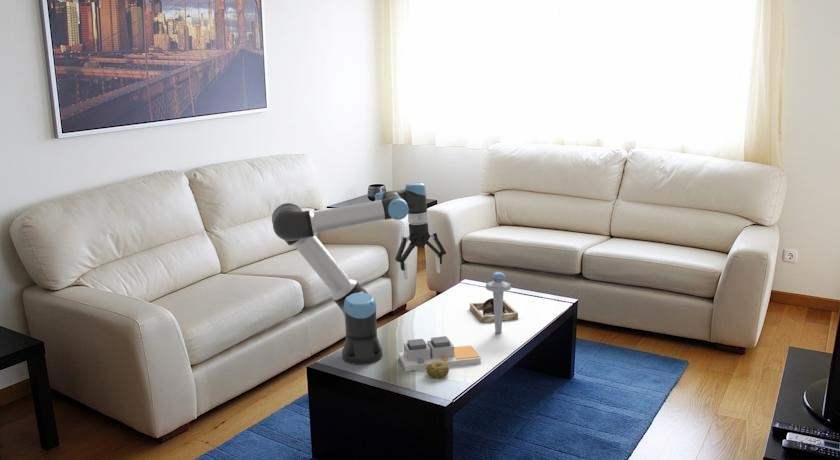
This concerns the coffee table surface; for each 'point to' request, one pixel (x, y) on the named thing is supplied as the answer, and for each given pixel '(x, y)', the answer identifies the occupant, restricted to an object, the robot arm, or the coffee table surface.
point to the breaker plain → (416, 344)
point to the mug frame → (489, 318)
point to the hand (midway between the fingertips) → (422, 275)
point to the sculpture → (437, 370)
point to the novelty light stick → (498, 297)
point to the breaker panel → (438, 356)
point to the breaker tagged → (440, 341)
